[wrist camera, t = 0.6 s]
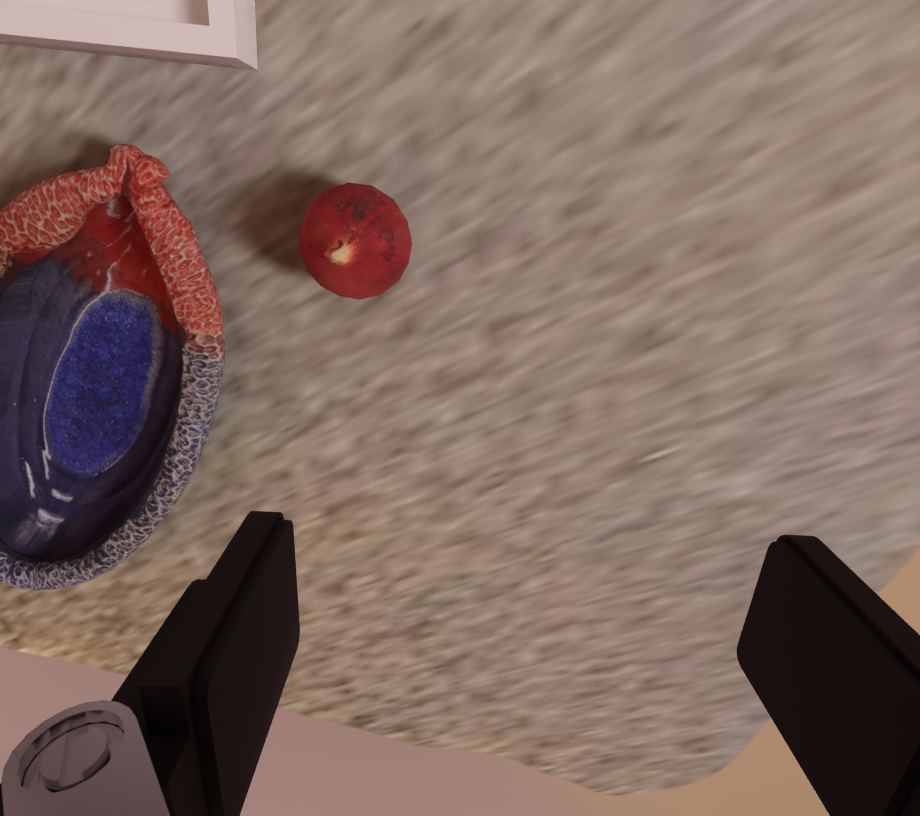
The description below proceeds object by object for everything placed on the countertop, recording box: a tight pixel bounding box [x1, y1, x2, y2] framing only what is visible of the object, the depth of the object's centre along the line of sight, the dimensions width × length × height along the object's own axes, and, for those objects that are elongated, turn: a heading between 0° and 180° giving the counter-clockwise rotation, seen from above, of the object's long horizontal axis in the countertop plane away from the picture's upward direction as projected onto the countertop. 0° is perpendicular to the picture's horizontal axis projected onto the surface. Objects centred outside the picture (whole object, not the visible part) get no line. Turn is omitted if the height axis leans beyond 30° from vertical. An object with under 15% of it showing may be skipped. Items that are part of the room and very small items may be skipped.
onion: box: [298, 183, 412, 299], centre depth 29 cm, size 6×6×8 cm
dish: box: [0, 144, 225, 590], centre depth 34 cm, size 16×31×5 cm, turn 148°
